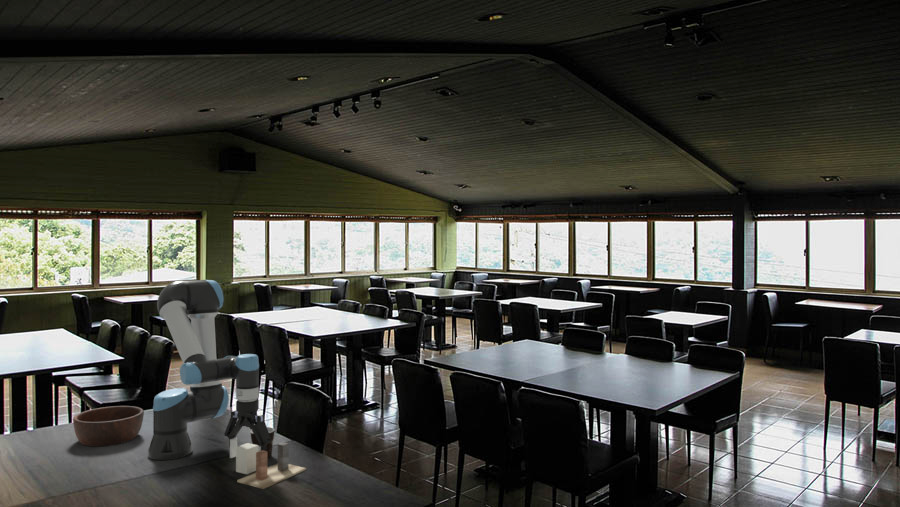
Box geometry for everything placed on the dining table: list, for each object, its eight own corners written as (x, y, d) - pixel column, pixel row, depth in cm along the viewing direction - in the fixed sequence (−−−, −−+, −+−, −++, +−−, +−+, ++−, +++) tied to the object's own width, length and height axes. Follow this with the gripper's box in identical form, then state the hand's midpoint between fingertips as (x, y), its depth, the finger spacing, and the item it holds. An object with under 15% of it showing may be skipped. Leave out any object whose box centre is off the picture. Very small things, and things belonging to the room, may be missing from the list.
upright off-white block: (236, 471, 218) (236, 447, 218) (247, 467, 223) (247, 442, 223) (246, 474, 216) (246, 449, 216) (258, 469, 220) (258, 445, 220)
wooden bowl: (156, 436, 256) (156, 411, 256) (94, 453, 235) (94, 426, 235) (122, 426, 270) (122, 402, 270) (60, 441, 249) (60, 415, 249)
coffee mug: (267, 462, 228) (267, 434, 228) (245, 460, 230) (245, 433, 229) (282, 451, 239) (282, 425, 239) (261, 450, 241) (261, 424, 241)
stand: (237, 481, 209) (237, 453, 209) (280, 463, 227) (280, 437, 226) (263, 489, 203) (263, 459, 203) (305, 469, 221) (306, 442, 221)
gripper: (213, 397, 222) (213, 457, 222) (265, 406, 210) (265, 469, 210) (230, 393, 228) (230, 451, 228) (281, 401, 216) (281, 462, 216)
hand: (247, 460), depth 219 cm, fingers open, 13 cm apart
